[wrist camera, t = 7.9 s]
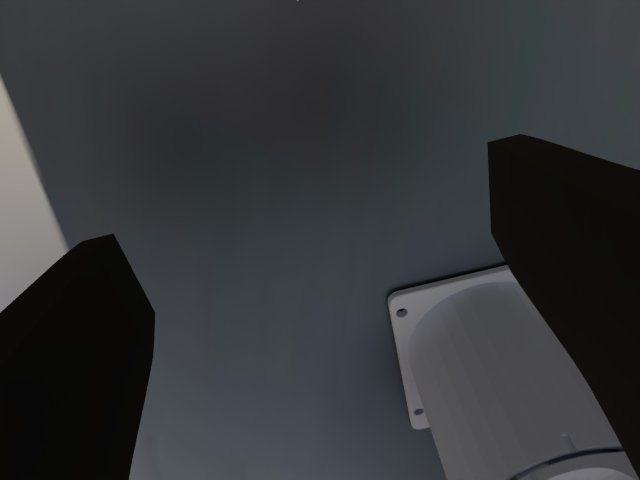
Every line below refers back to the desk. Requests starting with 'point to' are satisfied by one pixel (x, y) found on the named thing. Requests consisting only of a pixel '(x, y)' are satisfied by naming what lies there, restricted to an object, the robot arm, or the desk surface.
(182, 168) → the desk surface
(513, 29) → the desk surface
